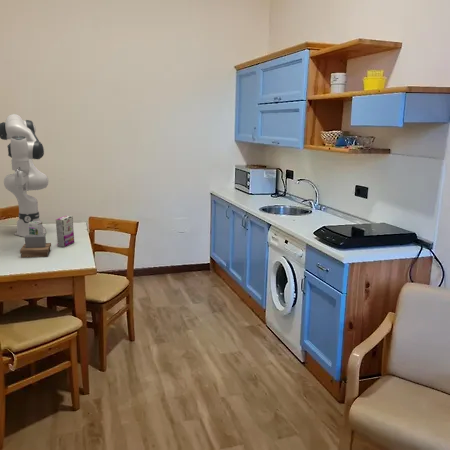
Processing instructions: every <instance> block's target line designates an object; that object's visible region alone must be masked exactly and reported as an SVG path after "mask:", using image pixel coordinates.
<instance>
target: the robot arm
mask: <svg viewBox="0 0 450 450" xmlns="http://www.w3.org/2000/svg"><path fill="white" fill-rule="evenodd" d="M36 131H37V129H36V126H35V124H34V122H33V121H32V120H29V119H26V120H24V119H23V118H22V117H21V116H20V114H19V115H18V114H17V113H12V114H9V115H8V116H6V120H5V122H4V121H3V122H0V139H1V140H4V141H8V140H10V143H8V144H7V153H8V155H7V156H8V157H10V158H11V161H10V162H11V170H12V171H14V173H12V174H8V175H6V176H5V177H4V179H3V186H4V188H5V189H6V190H7V191H9V192H10V193H12V194H13V195H14V197H15V198H16V200H17V204H18V220H17V221H16V231H15V232H14V236H19V237H25V236H26V235H29V228H28V223H29V222H31V221H39V222H42V223H43V221H42V220H41V218H40V211H39V204H38V199H37V198H36V197H34V196H33V195H29V194H27V191H28V192H29V191H39V190H45V189H46V188H47V187H48V185H49V178H48V176H47V174H46V173H44V172H42V171H40V170H39V169H38V168H37V167H36V165H35V164H34V161H33V160H40V159H41V158H43V157H44V155H45V148H44V146H43V143H42V142H41V141H40V140H39V138H38V137H37V135H36ZM46 234H47V232H46V229H45V227H44V226H43V235H46Z"/></svg>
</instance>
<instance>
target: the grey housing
mask: <svg viewBox="0 0 450 450" xmlns="http://www.w3.org/2000/svg"><path fill="white" fill-rule="evenodd" d="M46 243H47V239H46V234H43V235H26V236H24V244H25V248H38V247H45V246H46Z"/></svg>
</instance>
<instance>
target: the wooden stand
mask: <svg viewBox="0 0 450 450" xmlns="http://www.w3.org/2000/svg"><path fill="white" fill-rule="evenodd" d="M51 247H52V242H46V246H45V247H38V248H25V243H24V244H23V245H22V247H21V248H20V250H19V254H21V258H23V259H24V258H41V257H43V258H44V257H45V258H46V257H47V258H48V256H49V252H51Z"/></svg>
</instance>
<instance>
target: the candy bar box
mask: <svg viewBox="0 0 450 450" xmlns="http://www.w3.org/2000/svg"><path fill="white" fill-rule="evenodd" d="M55 226H56V229H55V230H56V239H57V247H60V248H65V247H66V248H67V246H70V245H72V244H74V243H75V235H74V234H75V232H74V218H73V216H72V215H63V216H62V217H59V218H57V219H55Z"/></svg>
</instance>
